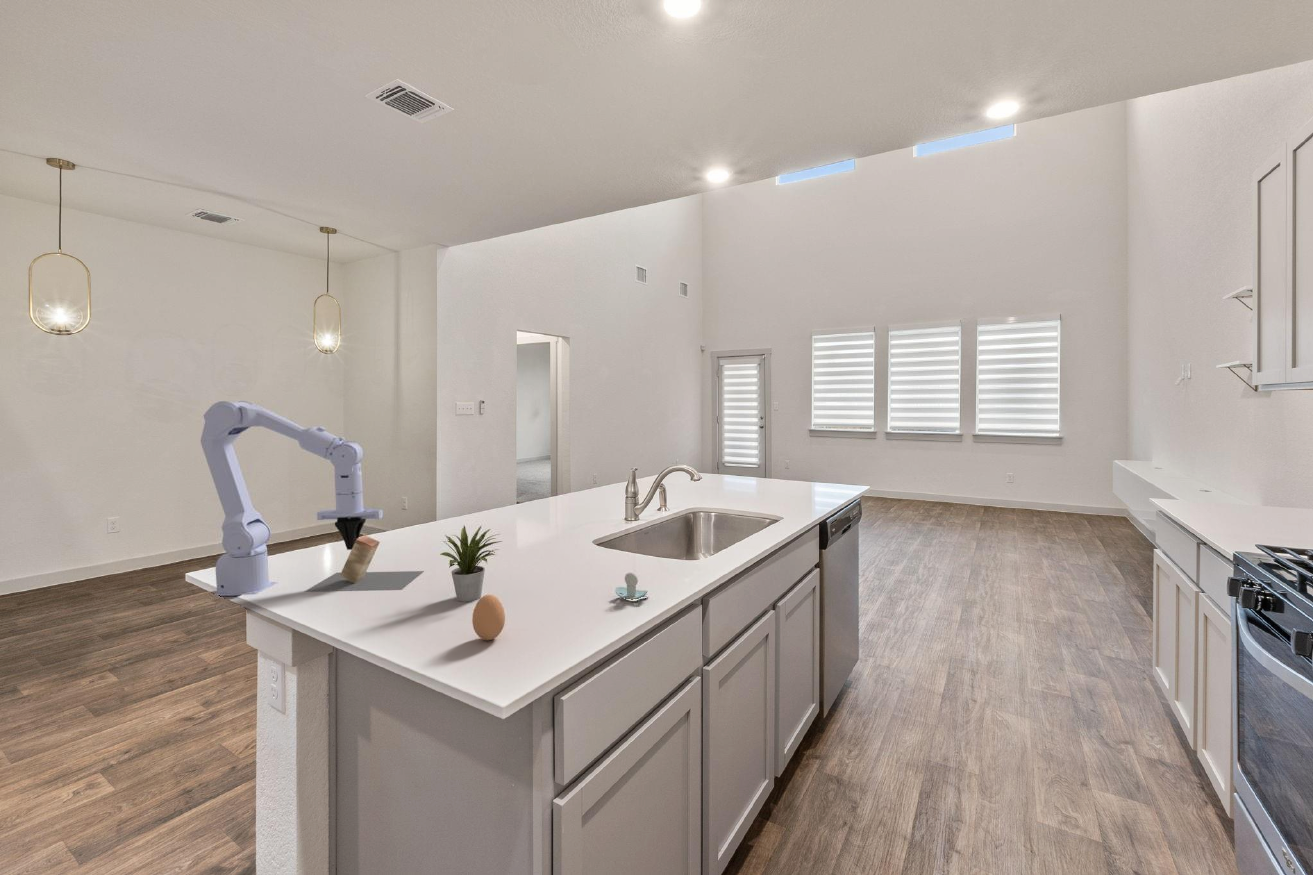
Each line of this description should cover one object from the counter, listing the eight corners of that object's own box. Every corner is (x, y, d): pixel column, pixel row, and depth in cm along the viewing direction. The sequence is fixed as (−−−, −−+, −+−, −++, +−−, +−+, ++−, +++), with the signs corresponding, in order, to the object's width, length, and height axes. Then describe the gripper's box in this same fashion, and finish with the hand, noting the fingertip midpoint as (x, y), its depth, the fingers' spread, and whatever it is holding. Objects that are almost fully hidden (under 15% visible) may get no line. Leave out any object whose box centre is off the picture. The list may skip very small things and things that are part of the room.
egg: (511, 638, 104) (510, 594, 103) (483, 649, 99) (482, 602, 99) (494, 630, 108) (493, 587, 107) (466, 639, 103) (465, 595, 103)
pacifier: (624, 593, 129) (612, 600, 123) (624, 565, 128) (612, 572, 123) (654, 597, 126) (642, 605, 120) (654, 569, 125) (642, 576, 120)
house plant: (480, 613, 116) (478, 535, 115) (420, 609, 119) (417, 533, 117) (512, 590, 130) (510, 520, 129) (457, 587, 132) (455, 518, 131)
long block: (339, 576, 134) (356, 539, 133) (347, 571, 138) (364, 535, 137) (354, 583, 134) (372, 546, 134) (363, 578, 138) (379, 541, 138)
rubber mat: (304, 593, 129) (304, 591, 129) (336, 574, 143) (336, 572, 143) (401, 591, 130) (401, 589, 129) (424, 572, 143) (424, 571, 143)
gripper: (387, 489, 139) (389, 543, 140) (327, 490, 138) (330, 544, 139) (374, 494, 132) (376, 551, 133) (310, 495, 131) (313, 552, 132)
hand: (351, 548), depth 135 cm, fingers closed
